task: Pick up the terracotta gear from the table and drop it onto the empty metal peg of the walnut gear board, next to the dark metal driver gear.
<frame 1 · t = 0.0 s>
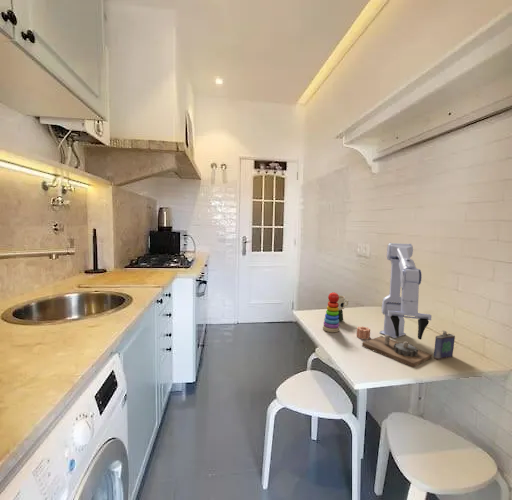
hand: (408, 337, 113), 11 cm above the table, tool pointing down, fingers open, 7 cm apart
gear board: (395, 351, 125), on the table
terracotta gear: (363, 336, 140), on the table
flask: (442, 357, 121), on the table
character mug: (337, 320, 162), on the table
stacking toy: (330, 330, 148), on the table
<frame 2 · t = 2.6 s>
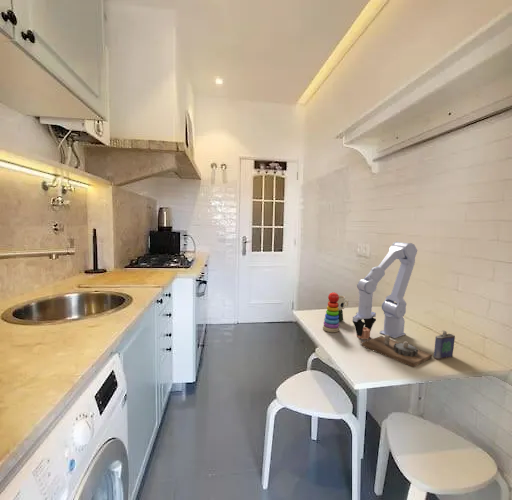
hand: (363, 334, 139), 1 cm above the table, tool pointing down, fingers closed on terracotta gear, 6 cm apart
terracotta gear: (363, 336, 140), on the table, touching gripper
everything else where it was.
when the fingers open (4 cm above the table, at t = 6.3 s): terracotta gear stays where it is, resting on gear board.
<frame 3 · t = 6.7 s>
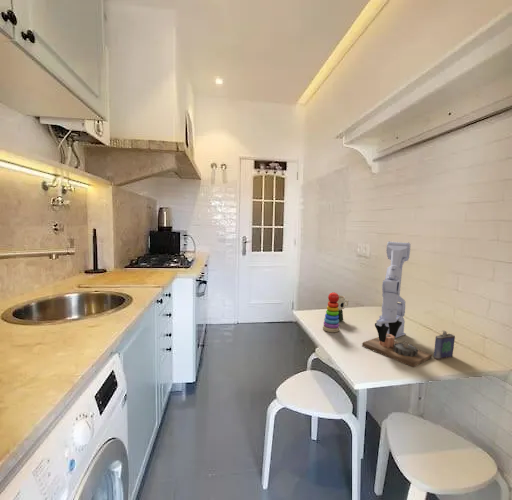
hand: (387, 339, 127), 4 cm above the table, tool pointing down, fingers open, 7 cm apart
terracotta gear: (386, 344, 128), point 1 cm above the table, touching gear board
everything else where it was.
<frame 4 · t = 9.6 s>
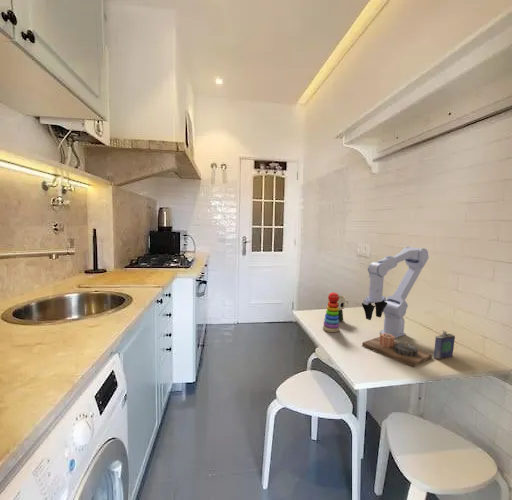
hand: (373, 318, 138), 9 cm above the table, tool pointing down, fingers open, 7 cm apart
nothing on the table moved.
at the end: terracotta gear 0.1 cm from the target spot on the gear board, point 1.5 cm above the gear board's base; terracotta gear tilted 0°; the gripper is holding nothing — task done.
